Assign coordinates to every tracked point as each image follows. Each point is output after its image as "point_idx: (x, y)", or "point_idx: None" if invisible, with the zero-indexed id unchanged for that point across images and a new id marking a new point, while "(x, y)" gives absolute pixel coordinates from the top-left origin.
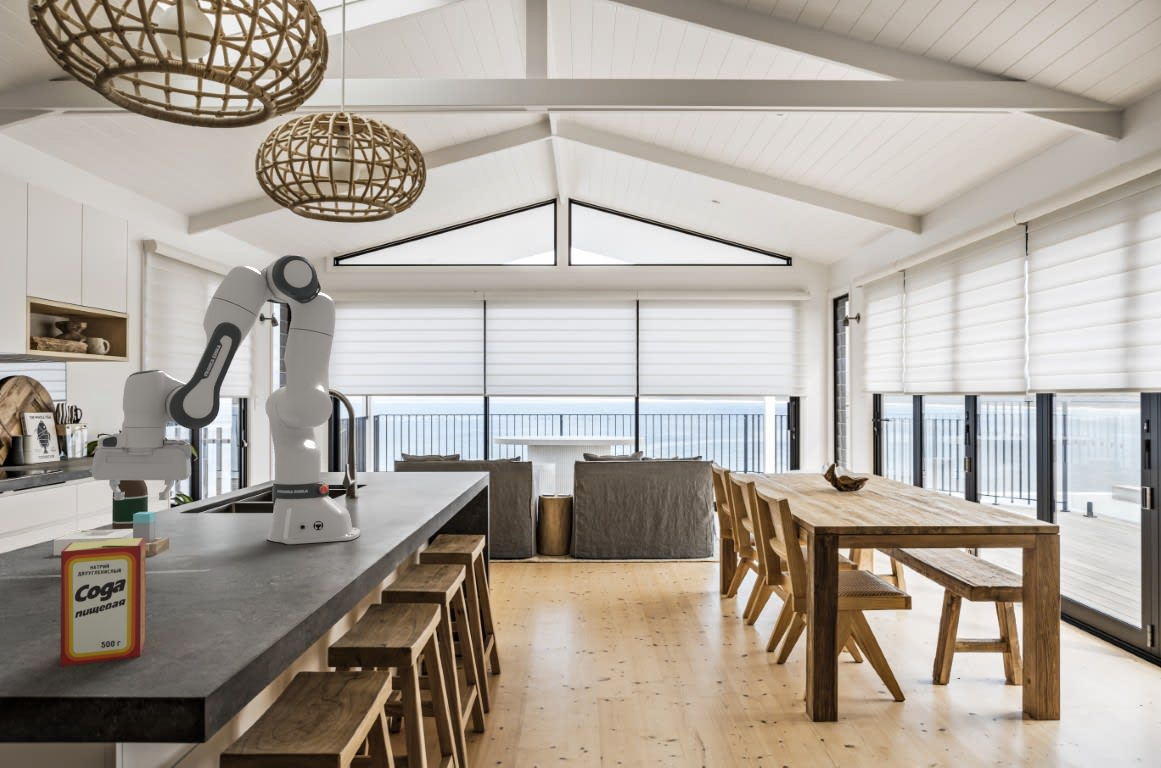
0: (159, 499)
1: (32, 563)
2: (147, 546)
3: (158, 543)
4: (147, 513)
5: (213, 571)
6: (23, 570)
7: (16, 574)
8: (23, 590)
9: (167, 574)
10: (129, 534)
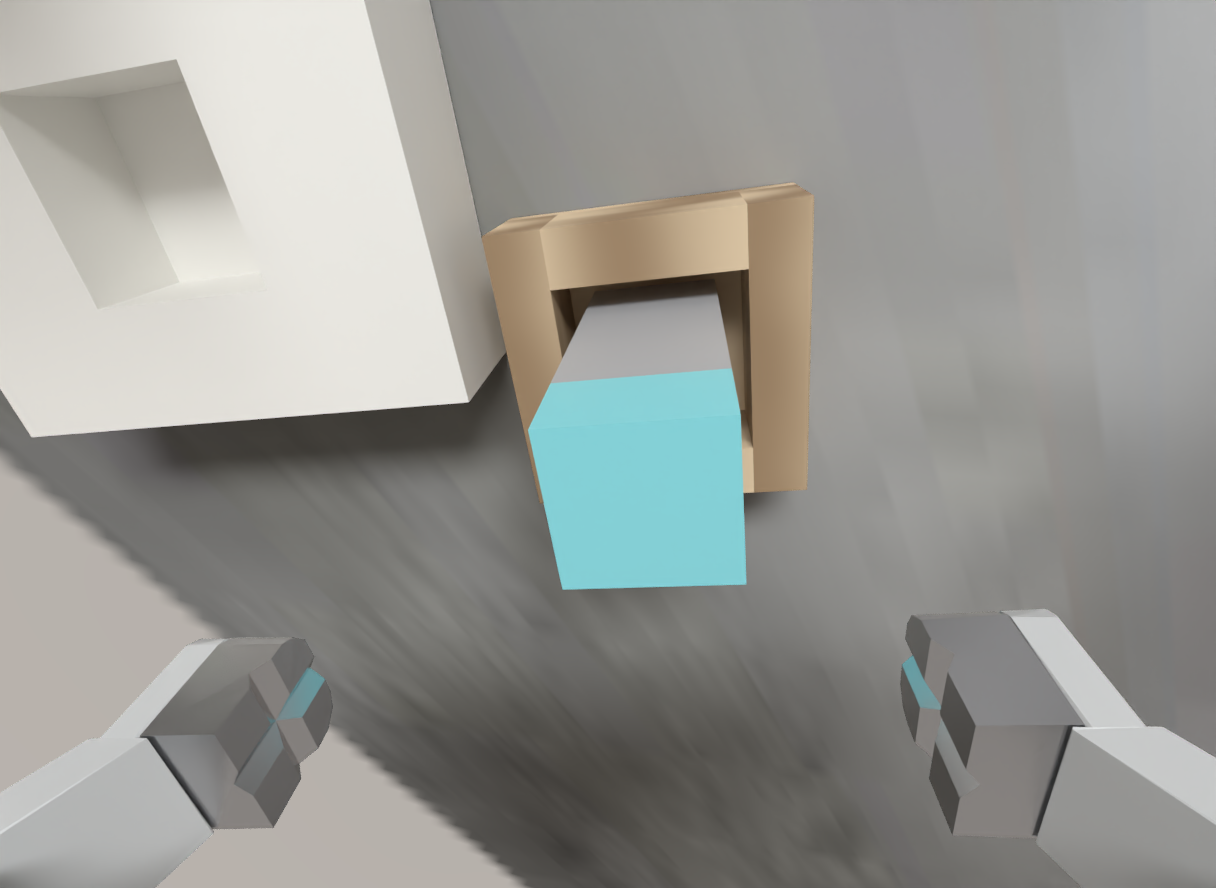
0: (910, 704)
1: (174, 519)
2: None
3: (806, 449)
4: (700, 548)
5: None
6: None
7: None
8: (538, 868)
9: None
10: (421, 209)
